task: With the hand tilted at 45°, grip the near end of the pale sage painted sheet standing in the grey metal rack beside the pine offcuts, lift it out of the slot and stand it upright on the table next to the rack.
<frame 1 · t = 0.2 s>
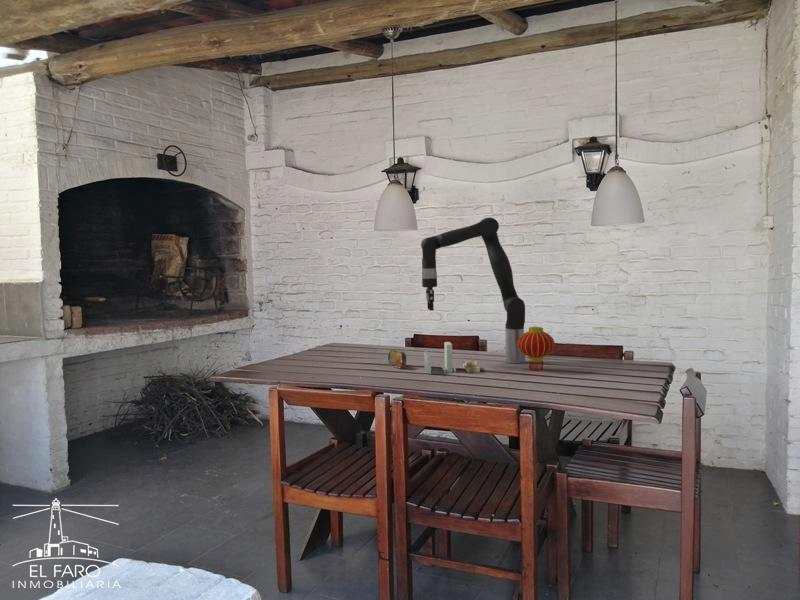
hand: (430, 309, 305), 28 cm above the table, tool pointing down, fingers open, 8 cm apart
lantern: (536, 370, 287), on the table
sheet: (448, 370, 291), on the table
offcuts: (471, 370, 291), on the table
tin: (397, 367, 302), on the table
rack: (448, 370, 291), on the table
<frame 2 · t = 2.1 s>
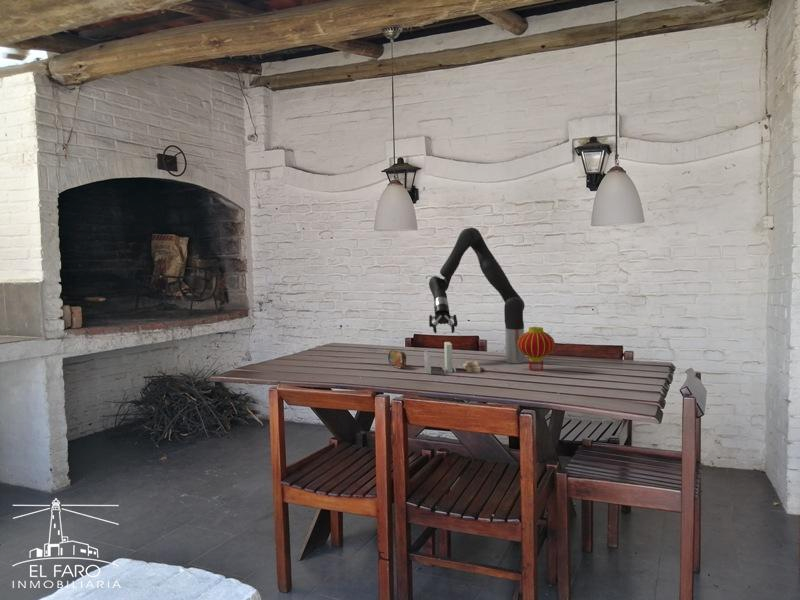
hand: (444, 332, 305), 16 cm above the table, tool tilted 45°, fingers open, 8 cm apart
nothing on the table moved.
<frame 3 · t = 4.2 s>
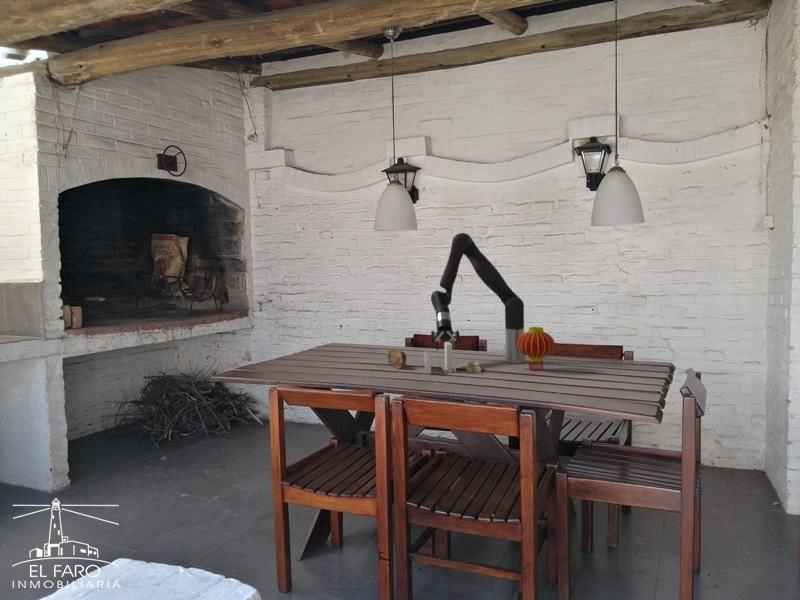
hand: (446, 349, 296), 9 cm above the table, tool tilted 45°, fingers open, 8 cm apart
nothing on the table moved.
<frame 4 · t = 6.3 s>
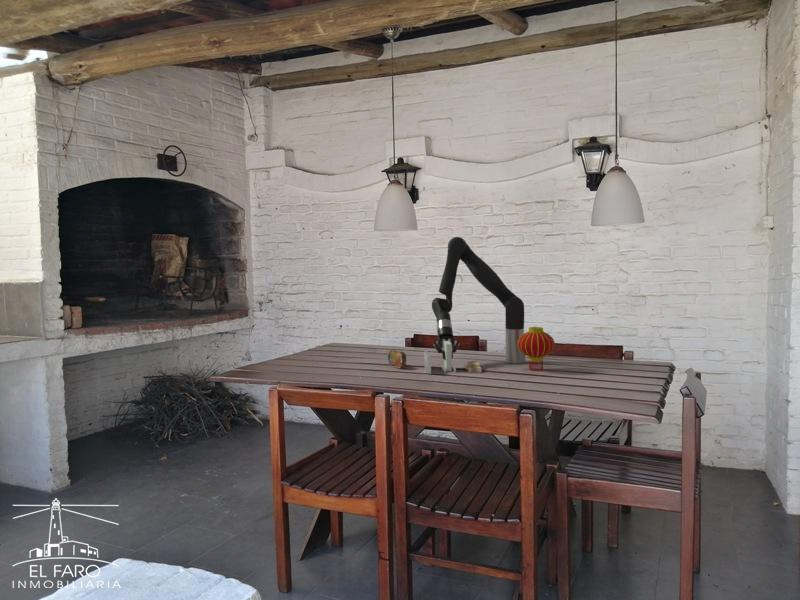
hand: (448, 358, 291), 5 cm above the table, tool tilted 45°, fingers closed on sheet, 2 cm apart
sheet: (448, 369, 293), on the table, touching gripper
everything else where it was.
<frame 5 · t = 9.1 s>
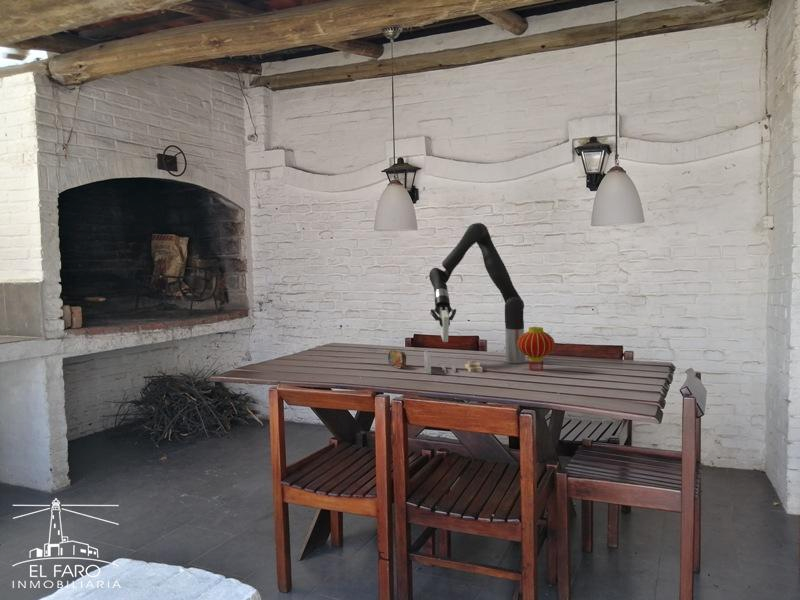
hand: (445, 325, 301), 20 cm above the table, tool tilted 45°, fingers closed on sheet
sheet: (444, 338, 304), point 14 cm above the table, tilted 14°, touching gripper
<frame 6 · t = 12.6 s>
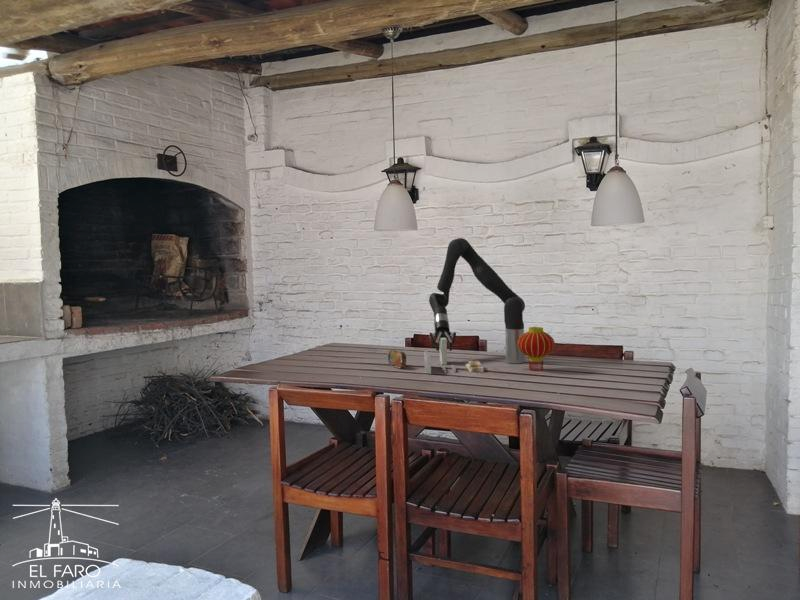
hand: (444, 350, 306), 7 cm above the table, tool tilted 45°, fingers open, 5 cm apart
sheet: (443, 363, 310), on the table
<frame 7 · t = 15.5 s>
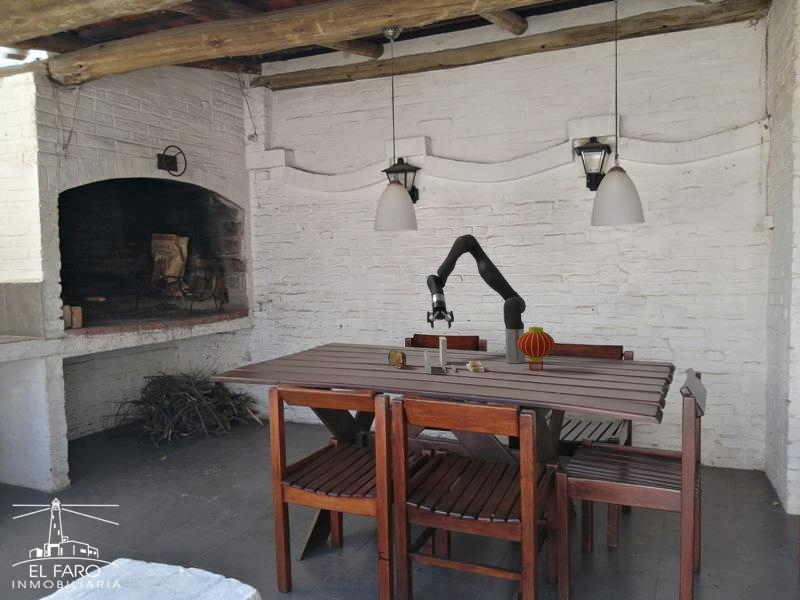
hand: (441, 327, 318), 17 cm above the table, tool tilted 45°, fingers open, 8 cm apart
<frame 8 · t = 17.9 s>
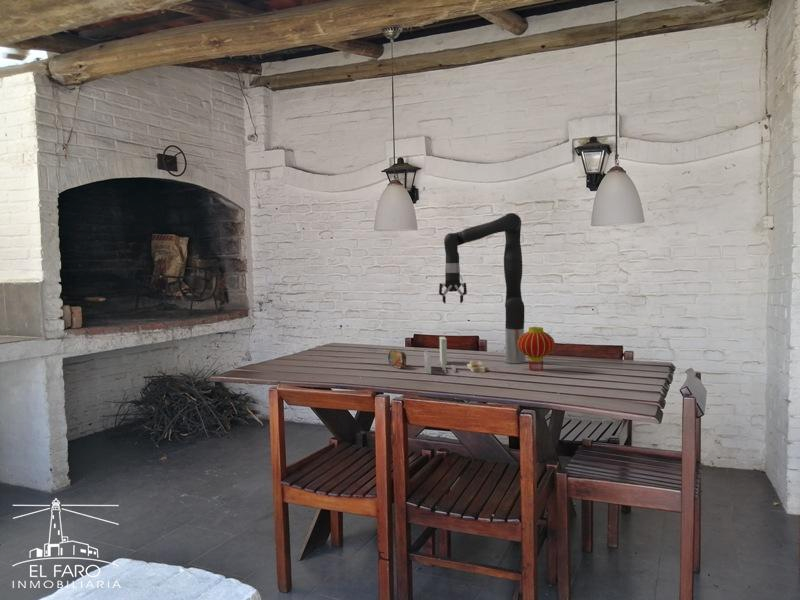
hand: (452, 303, 316), 30 cm above the table, tool pointing down, fingers open, 8 cm apart
at the end: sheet inside the target area (4.8 cm from its centre), on the table; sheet tilted 0°; offcuts moved 2.3 cm from its start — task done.
